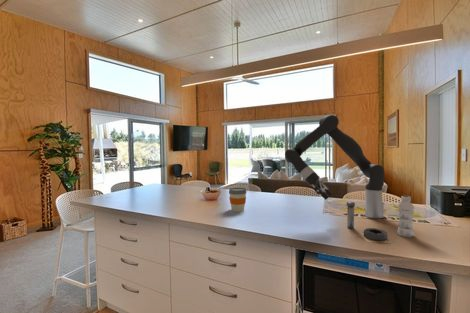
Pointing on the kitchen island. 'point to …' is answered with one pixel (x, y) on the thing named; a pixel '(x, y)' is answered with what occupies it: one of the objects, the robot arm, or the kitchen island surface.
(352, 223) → the steel key rod
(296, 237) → the kitchen island surface
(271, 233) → the kitchen island surface
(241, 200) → the reusable coffee cup
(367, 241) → the oak base plate
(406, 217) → the plastic bottle
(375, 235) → the chuck collar
